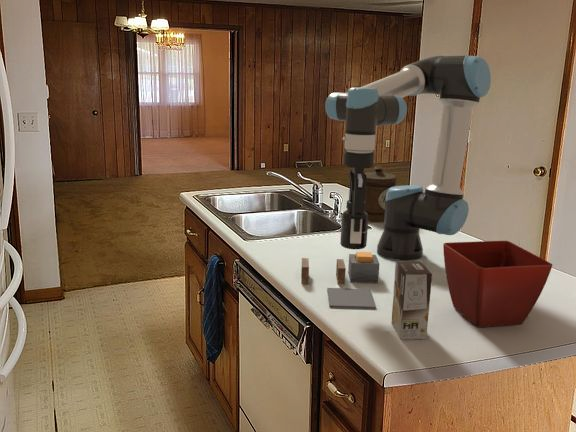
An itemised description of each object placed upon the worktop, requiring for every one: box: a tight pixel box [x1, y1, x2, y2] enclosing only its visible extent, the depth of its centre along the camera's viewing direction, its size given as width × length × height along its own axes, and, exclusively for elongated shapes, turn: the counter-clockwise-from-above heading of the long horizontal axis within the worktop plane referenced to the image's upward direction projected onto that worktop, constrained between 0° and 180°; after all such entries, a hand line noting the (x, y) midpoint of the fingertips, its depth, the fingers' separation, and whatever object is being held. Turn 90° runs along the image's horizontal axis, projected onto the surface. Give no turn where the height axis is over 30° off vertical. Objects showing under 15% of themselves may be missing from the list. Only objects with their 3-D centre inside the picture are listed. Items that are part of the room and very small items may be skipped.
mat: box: [326, 287, 377, 310], centre depth 150 cm, size 12×12×1 cm
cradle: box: [300, 257, 347, 286], centre depth 163 cm, size 12×8×5 cm, turn 89°
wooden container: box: [364, 165, 397, 223], centre depth 231 cm, size 15×15×22 cm
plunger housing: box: [347, 253, 380, 284], centre depth 164 cm, size 8×8×6 cm
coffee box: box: [391, 260, 433, 340], centre depth 130 cm, size 9×6×16 cm
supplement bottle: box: [339, 199, 369, 250], centre depth 144 cm, size 7×7×12 cm
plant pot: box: [442, 240, 553, 328], centre depth 139 cm, size 19×19×17 cm
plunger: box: [355, 251, 373, 262], centre depth 164 cm, size 4×4×6 cm
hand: (354, 238), depth 145 cm, fingers closed on supplement bottle, 7 cm apart
